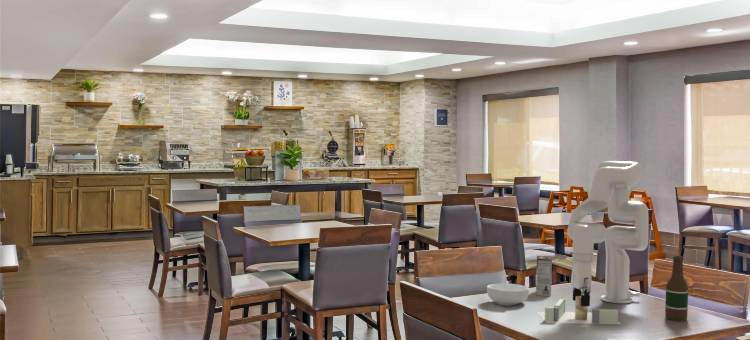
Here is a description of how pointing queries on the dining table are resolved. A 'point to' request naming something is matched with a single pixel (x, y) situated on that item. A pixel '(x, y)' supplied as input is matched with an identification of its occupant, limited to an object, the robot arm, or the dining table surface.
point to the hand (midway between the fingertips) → (581, 303)
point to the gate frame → (592, 318)
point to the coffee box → (543, 275)
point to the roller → (580, 309)
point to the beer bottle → (677, 293)
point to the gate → (561, 306)
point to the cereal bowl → (507, 293)
